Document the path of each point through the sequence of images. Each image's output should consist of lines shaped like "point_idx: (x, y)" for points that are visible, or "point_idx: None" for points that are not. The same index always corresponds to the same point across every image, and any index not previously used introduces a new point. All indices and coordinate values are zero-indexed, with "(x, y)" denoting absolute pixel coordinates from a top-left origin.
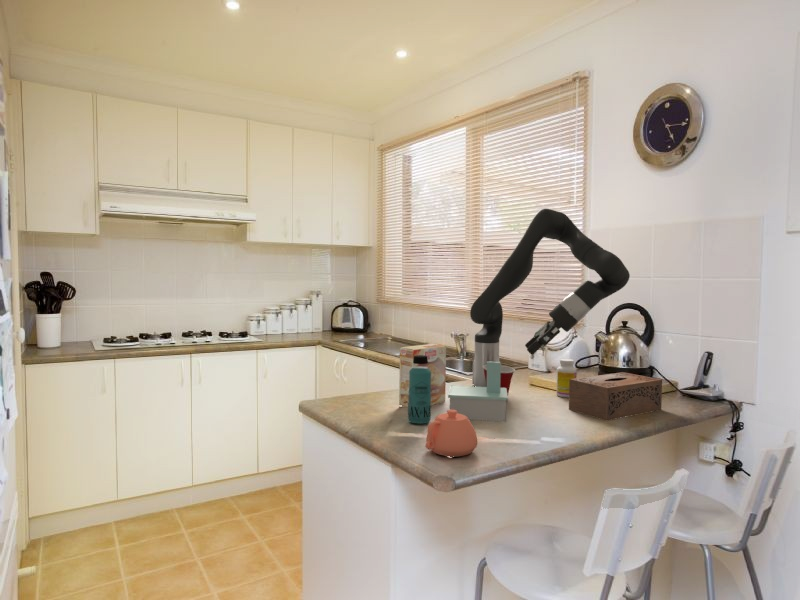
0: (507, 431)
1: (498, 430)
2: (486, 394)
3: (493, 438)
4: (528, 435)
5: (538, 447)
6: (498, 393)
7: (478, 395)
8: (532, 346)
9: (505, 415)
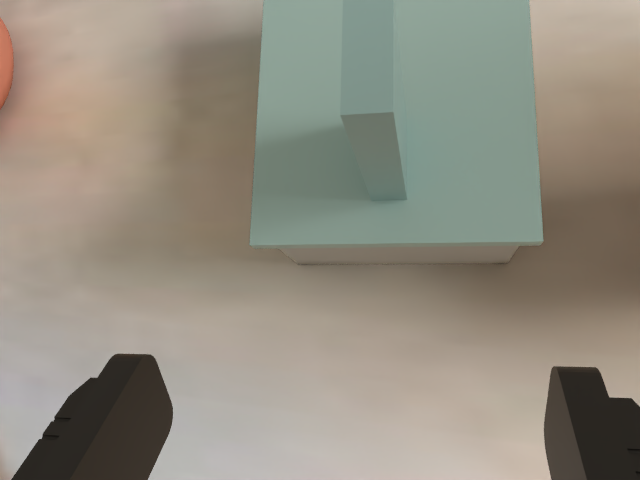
0: (189, 270)
1: (199, 233)
2: (312, 122)
3: (96, 214)
4: None
5: (3, 382)
6: (350, 190)
7: (280, 82)
8: (59, 428)
9: (288, 256)
